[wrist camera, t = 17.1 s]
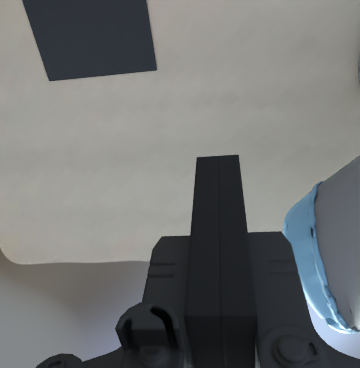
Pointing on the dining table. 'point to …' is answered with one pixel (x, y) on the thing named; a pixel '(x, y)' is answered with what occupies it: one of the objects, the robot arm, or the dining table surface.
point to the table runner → (91, 37)
